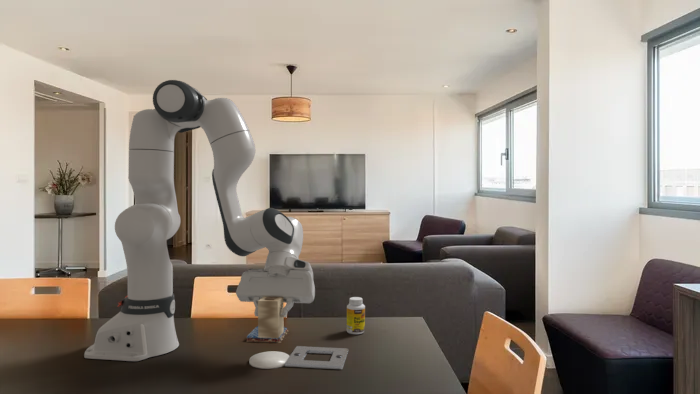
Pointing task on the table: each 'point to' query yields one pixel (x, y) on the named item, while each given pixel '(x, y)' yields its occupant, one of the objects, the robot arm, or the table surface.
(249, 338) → the woven mat
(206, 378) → the table surface
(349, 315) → the supplement bottle
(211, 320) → the table surface
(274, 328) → the block
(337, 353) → the rail plate
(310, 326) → the table surface
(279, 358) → the pad
